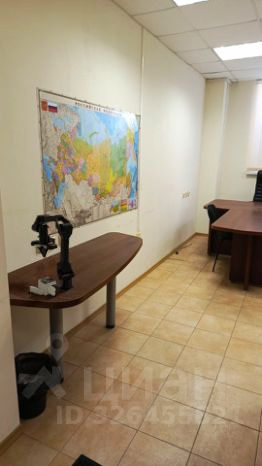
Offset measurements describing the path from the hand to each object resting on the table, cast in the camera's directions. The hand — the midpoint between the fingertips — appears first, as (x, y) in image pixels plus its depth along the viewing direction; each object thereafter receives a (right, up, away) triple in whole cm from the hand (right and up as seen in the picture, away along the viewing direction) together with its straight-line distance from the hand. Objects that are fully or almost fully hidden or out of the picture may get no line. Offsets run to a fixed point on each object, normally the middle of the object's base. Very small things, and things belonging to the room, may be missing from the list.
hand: (44, 257), depth 203 cm
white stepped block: (+5, -14, -20) cm, 25 cm away
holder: (+4, -18, -18) cm, 26 cm away
